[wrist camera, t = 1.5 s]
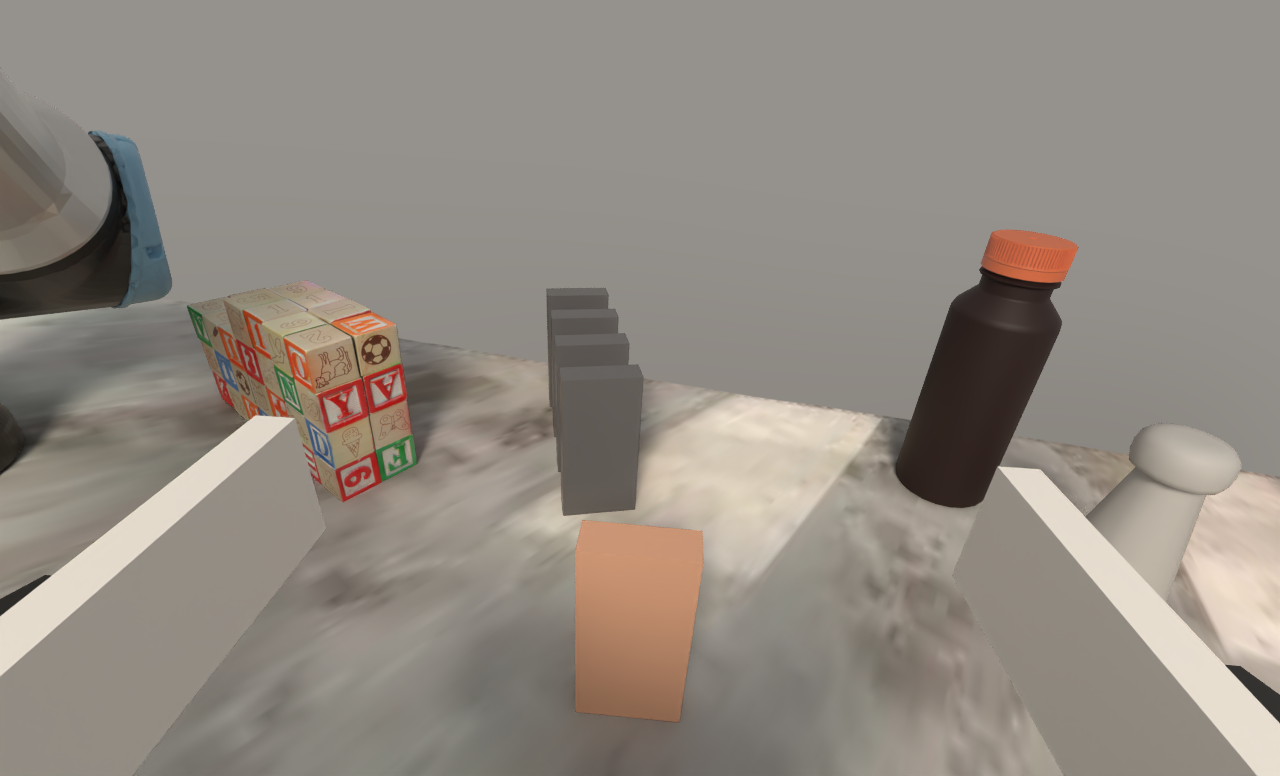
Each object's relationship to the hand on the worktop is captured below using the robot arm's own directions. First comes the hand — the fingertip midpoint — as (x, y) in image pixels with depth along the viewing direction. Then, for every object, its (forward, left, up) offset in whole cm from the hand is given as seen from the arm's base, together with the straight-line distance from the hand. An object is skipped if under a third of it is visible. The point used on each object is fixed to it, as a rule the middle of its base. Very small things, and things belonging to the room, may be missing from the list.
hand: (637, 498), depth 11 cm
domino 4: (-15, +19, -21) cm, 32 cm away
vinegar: (+5, +38, -21) cm, 44 cm away
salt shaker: (+15, +30, -21) cm, 40 cm away
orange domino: (-5, +8, -21) cm, 23 cm away
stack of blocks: (-40, +12, -21) cm, 47 cm away
